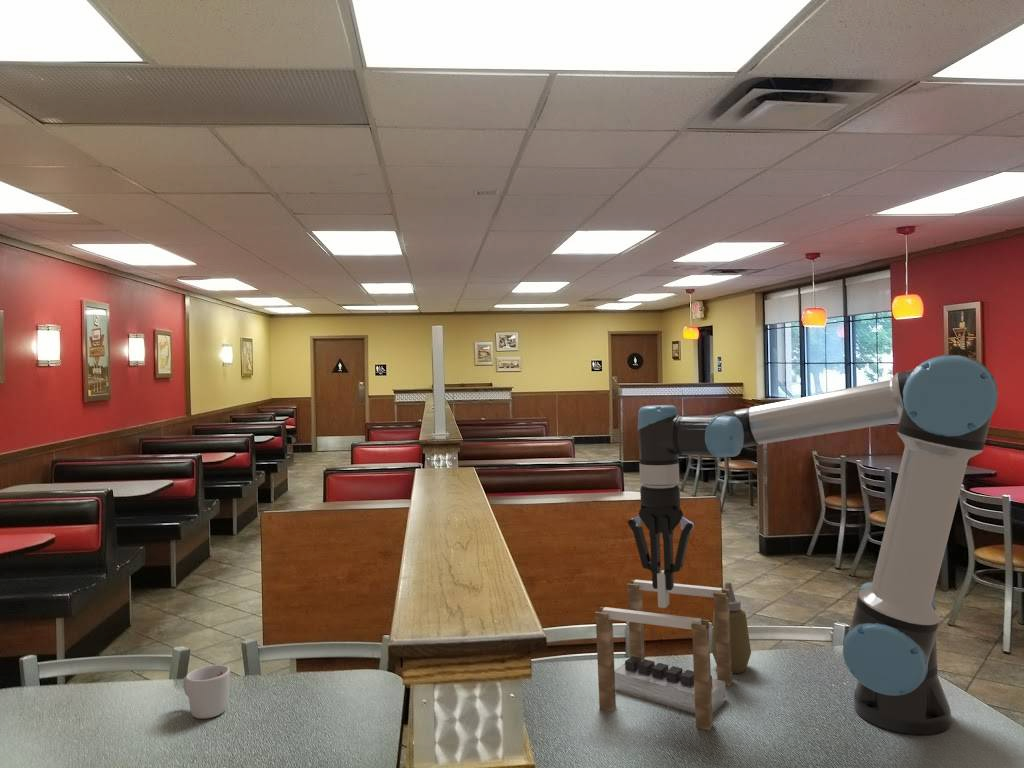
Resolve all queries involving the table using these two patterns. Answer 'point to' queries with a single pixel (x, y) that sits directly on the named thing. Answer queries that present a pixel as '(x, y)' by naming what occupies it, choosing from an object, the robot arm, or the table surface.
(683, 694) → the breaker strip
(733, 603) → the squeeze bottle
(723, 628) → the posts
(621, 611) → the long white bar
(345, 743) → the table surface
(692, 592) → the white crossbar
